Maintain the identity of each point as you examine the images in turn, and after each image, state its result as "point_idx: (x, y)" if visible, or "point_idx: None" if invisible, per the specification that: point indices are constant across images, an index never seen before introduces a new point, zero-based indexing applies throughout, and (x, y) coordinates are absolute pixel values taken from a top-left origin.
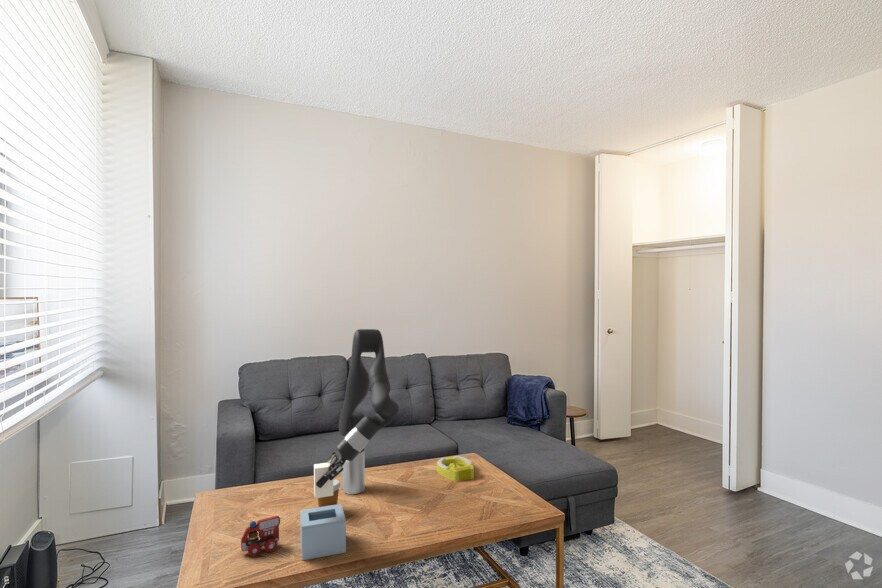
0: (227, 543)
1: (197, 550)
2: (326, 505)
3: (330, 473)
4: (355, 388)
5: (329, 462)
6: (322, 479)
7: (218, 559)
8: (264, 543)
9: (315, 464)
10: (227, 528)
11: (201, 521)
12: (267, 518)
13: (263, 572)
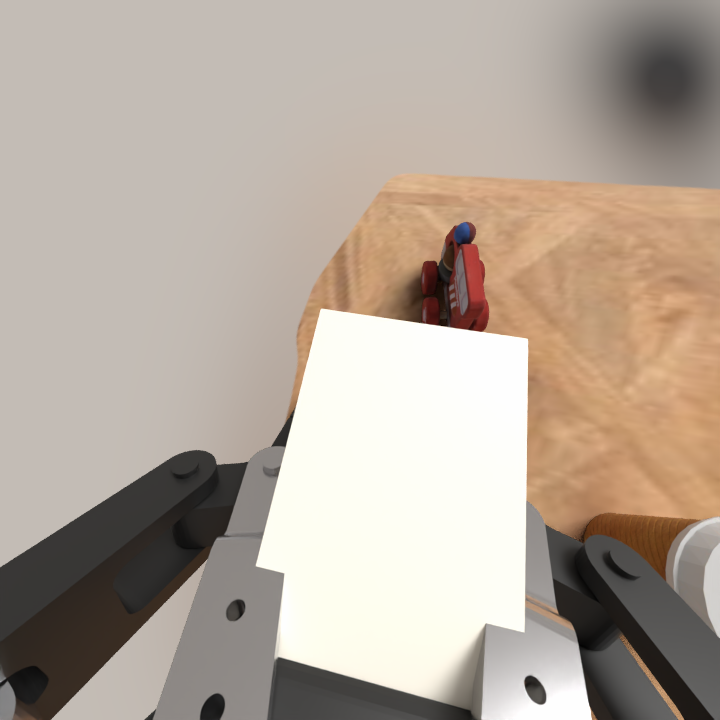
0: (514, 239)
1: (507, 187)
2: None
3: (95, 519)
4: None
5: (477, 689)
6: (286, 431)
7: (445, 220)
8: (446, 301)
9: (504, 362)
10: (601, 243)
11: (665, 193)
12: (475, 268)
13: (339, 295)
